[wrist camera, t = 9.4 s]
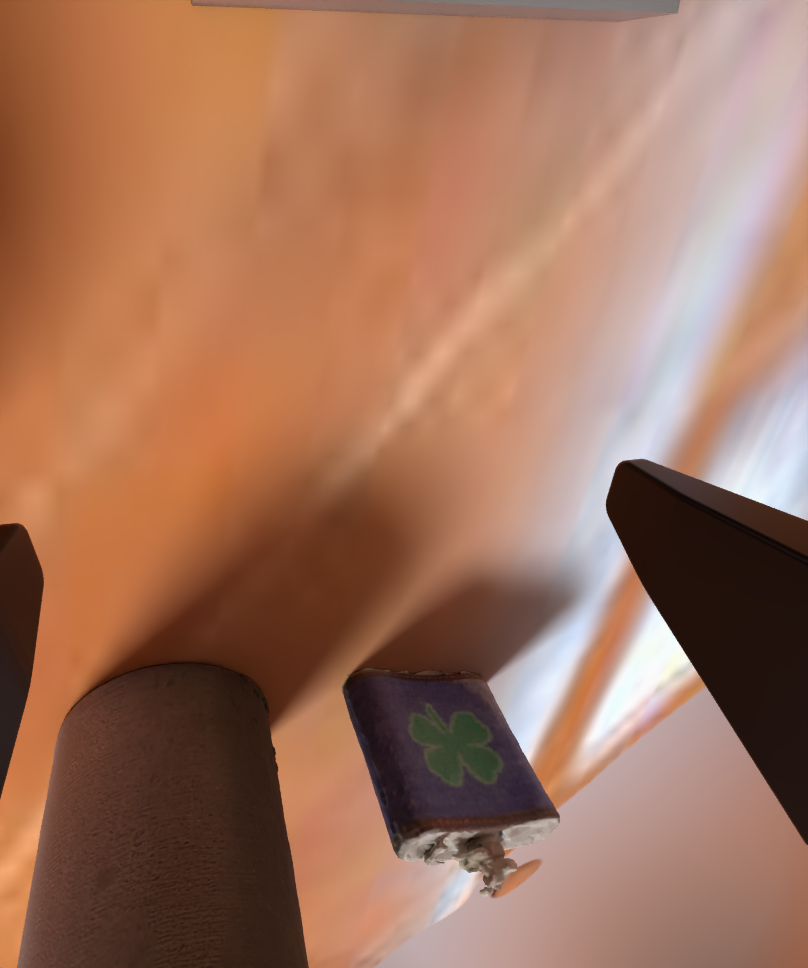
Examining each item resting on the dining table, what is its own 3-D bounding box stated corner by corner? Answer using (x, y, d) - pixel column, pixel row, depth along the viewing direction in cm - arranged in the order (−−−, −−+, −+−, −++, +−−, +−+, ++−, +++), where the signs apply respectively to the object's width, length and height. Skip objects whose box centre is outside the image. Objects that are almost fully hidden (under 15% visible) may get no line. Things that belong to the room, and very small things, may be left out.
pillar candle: (284, 656, 29) (365, 1047, 17) (251, 781, 33) (297, 1163, 21) (56, 664, 25) (-48, 1183, 13) (51, 806, 29) (-29, 1293, 17)
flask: (490, 671, 35) (593, 854, 27) (468, 705, 37) (560, 890, 28) (350, 663, 31) (421, 879, 23) (330, 702, 32) (391, 921, 24)
